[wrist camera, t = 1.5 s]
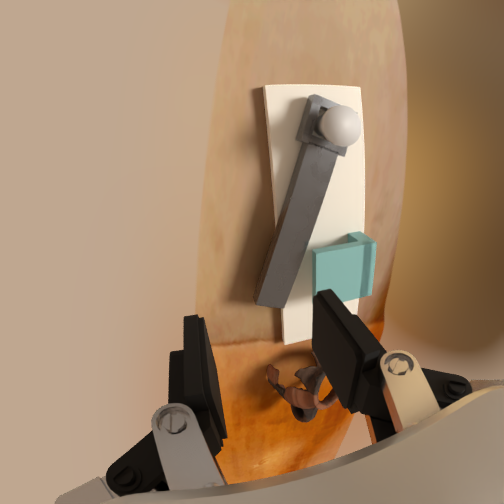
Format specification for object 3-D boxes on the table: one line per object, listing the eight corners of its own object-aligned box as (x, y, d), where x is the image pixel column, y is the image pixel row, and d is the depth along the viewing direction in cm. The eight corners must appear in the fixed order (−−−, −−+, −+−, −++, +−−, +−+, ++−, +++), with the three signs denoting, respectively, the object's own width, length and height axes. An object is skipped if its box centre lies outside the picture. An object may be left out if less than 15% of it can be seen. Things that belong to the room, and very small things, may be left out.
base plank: (262, 86, 23) (278, 76, 18) (354, 88, 24) (384, 82, 19) (282, 339, 34) (295, 368, 30) (351, 322, 36) (370, 346, 31)
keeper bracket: (303, 240, 28) (316, 253, 25) (360, 231, 29) (376, 242, 26) (304, 292, 31) (315, 308, 28) (356, 280, 32) (371, 294, 29)
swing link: (308, 95, 23) (315, 93, 21) (349, 113, 24) (357, 112, 22) (246, 296, 29) (249, 304, 28) (285, 301, 31) (290, 309, 29)
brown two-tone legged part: (260, 346, 35) (309, 371, 28) (311, 325, 41) (358, 340, 34) (263, 417, 37) (304, 445, 30) (308, 391, 42) (349, 411, 36)
